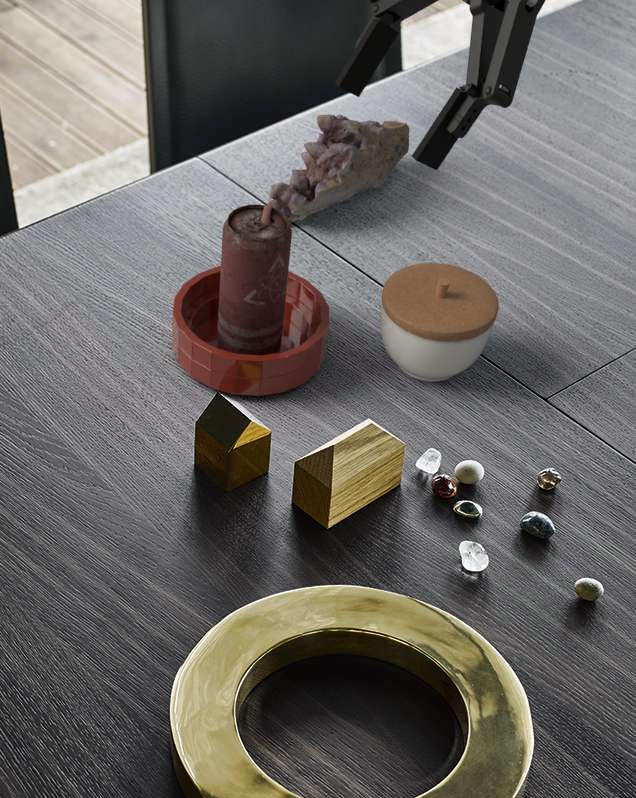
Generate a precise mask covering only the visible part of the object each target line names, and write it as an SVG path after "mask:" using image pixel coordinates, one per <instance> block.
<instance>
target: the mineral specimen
mask: <svg viewBox="0 0 636 798" xmlns="http://www.w3.org/2000/svg"><path fill="white" fill-rule="evenodd" d="M316 124H317V126H318V128H319V130H320V131H321V133H319V135H318V137H317V140H316V141H312V142H311V141H309V142H306V143H304V144H303V147H304V149H305V151H304V152H303V151H302V152H301V153H300V157H301V158H300V159H302V161H303V164H304V165H305V168H306V169H291V171H292V173H291V176H290V179H289V184H288V183H285V182H283V181H279V182H278V183H276V184H273V185H271V186H270V192H269V195H268V196H269V199H271V200H269V201H268V202H267V205H271V206H272V207H273V208H276V209H277V210H279V211H281V212H282V213H283V214H284V215H285V216H286V217H287V218H288V222H289V224H290V225H291V223H294V222H296V221H303V220H305V218H307V217H308V216H310V215H311V214H315V213H316V212H319V211H322V210H325V209H327V208H328V207H329V206H332V205H337V204H339V203H341V202H343V201H346V200H348V199H350V198H351V197H352V196H354V195H356V194H357V193H364V192H367V191H369V190H372V189H379V188H381V187H382V186H383V185H384V184H385V183H386V180H387V179H388V178H389V176H390V175H391V174H392V173H393V171H394V170H395V168H396V167H397V165H398V164H399V163H400V161H401V160H402V159H403V158H404V157H405V156H406V155H407V154H408V153H409V151H410V150H409V149H410V129H411V128H410V127H409V125H408V124H407V123H406V122H400V121H398V120H397V119H395V120H383V122H382V123H380V122H378V121H375V120H371V119H370V120H369V119H367V120H366V121H358V120H353V119H350V118H348V117H347V116H346V115H342V114H337V115H335V114H330V113H329V114H319V115H317V116H316Z"/></svg>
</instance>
